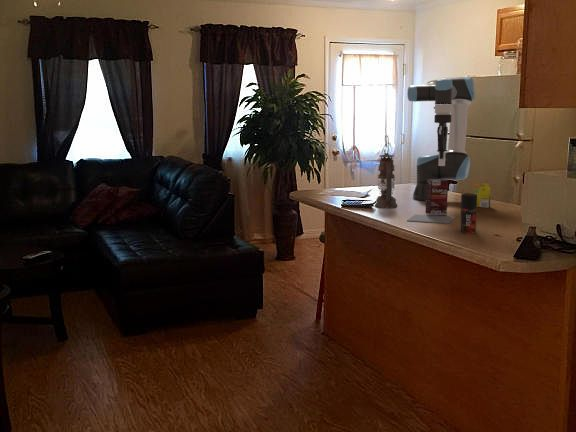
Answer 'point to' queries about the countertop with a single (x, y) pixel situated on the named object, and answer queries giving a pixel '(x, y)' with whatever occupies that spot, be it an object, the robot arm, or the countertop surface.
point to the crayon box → (482, 195)
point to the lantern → (386, 182)
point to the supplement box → (436, 197)
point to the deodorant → (468, 213)
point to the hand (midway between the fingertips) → (441, 165)
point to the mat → (431, 219)
